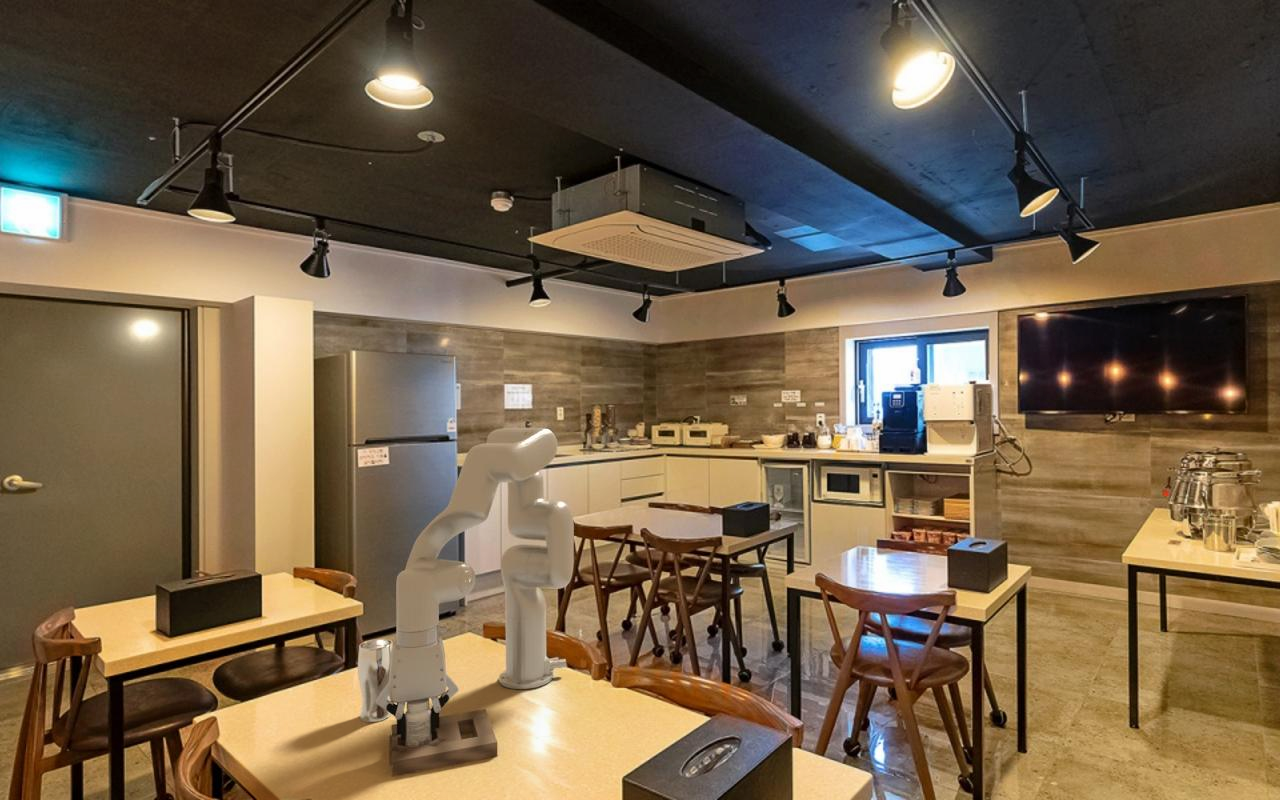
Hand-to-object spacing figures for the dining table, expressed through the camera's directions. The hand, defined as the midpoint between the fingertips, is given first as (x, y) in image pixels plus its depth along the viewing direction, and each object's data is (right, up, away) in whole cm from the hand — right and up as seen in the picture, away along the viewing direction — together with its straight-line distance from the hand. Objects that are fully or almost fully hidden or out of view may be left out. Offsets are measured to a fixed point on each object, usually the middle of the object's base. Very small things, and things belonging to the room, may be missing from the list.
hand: (418, 733), depth 122 cm
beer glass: (-14, -4, +15) cm, 21 cm away
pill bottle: (0, -2, 0) cm, 2 cm away
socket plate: (+4, -3, +1) cm, 5 cm away
